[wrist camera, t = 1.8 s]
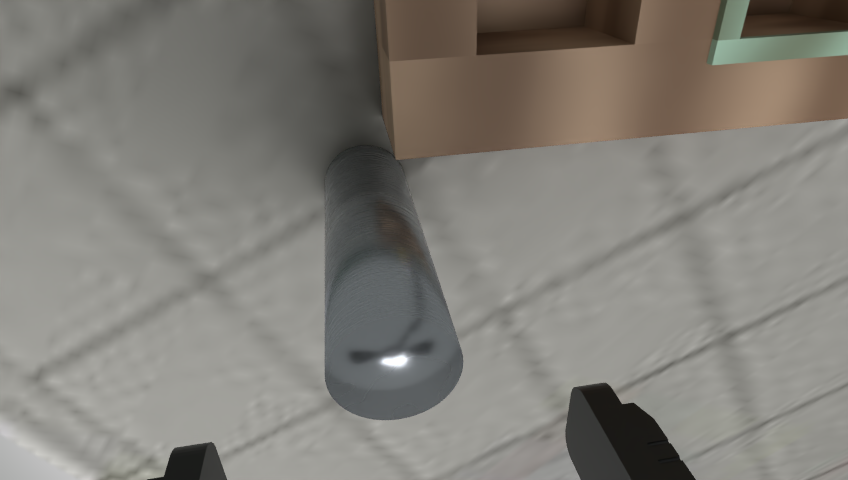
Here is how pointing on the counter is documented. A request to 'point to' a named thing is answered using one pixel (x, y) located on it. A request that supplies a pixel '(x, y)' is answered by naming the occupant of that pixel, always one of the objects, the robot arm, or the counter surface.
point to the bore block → (602, 69)
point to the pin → (382, 294)
